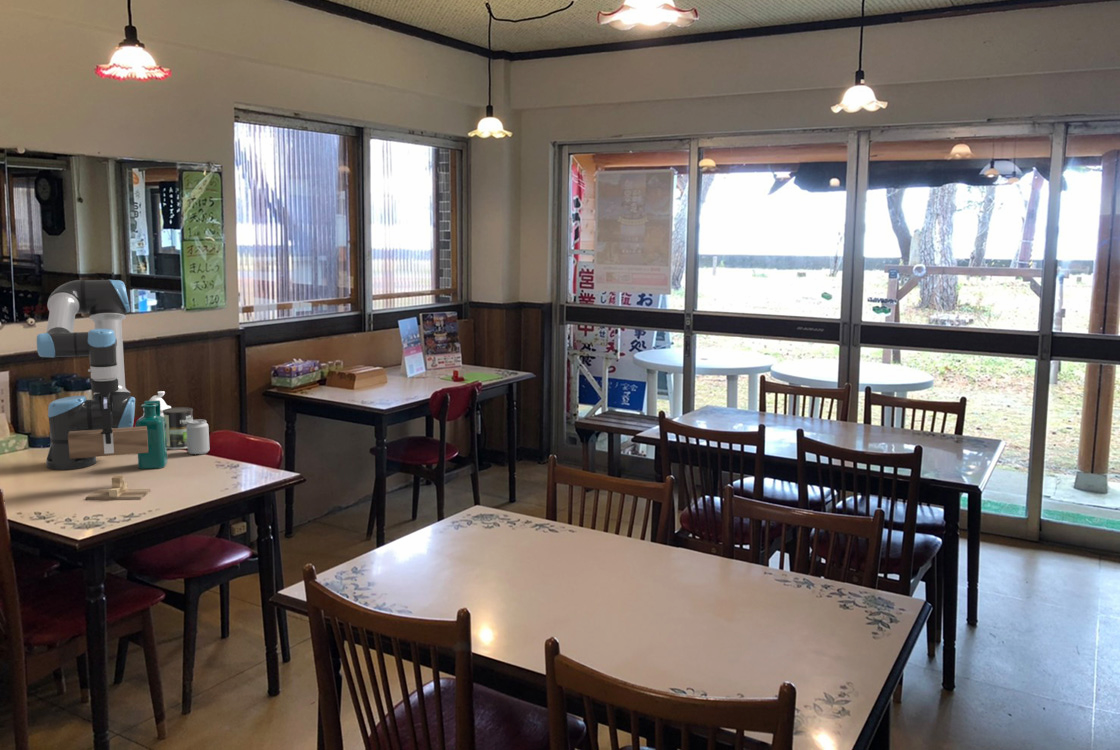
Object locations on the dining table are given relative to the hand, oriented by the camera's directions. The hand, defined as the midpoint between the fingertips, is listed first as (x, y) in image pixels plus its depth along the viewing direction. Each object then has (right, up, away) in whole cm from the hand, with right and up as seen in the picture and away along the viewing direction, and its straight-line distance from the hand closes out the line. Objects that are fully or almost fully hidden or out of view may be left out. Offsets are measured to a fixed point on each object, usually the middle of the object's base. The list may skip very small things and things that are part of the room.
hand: (109, 450), depth 281 cm
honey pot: (-15, -1, +67) cm, 68 cm away
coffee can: (0, -3, +53) cm, 53 cm away
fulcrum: (+7, -13, -8) cm, 17 cm away
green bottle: (+2, -8, +26) cm, 27 cm away
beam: (0, -1, 0) cm, 1 cm away
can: (+10, -5, +44) cm, 45 cm away
